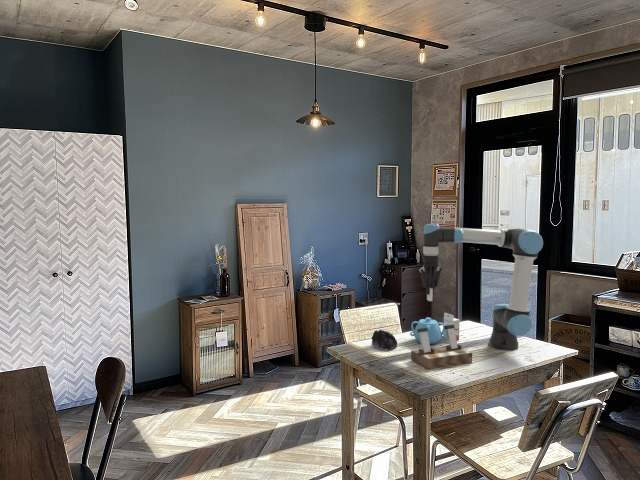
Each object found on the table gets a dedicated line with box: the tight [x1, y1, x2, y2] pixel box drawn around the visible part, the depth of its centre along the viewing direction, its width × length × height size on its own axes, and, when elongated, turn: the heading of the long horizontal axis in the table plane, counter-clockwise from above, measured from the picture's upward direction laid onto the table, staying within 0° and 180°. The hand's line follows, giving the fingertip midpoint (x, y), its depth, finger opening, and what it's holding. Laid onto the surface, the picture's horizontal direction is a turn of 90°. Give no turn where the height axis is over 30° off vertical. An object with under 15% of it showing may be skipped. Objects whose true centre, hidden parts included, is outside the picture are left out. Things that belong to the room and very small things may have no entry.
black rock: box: [371, 329, 398, 352], centre depth 261 cm, size 13×14×10 cm
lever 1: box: [417, 328, 432, 352], centre depth 238 cm, size 5×2×12 cm, turn 112°
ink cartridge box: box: [442, 312, 461, 341], centre depth 277 cm, size 9×5×15 cm, turn 25°
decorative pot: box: [409, 316, 446, 345], centre depth 272 cm, size 16×16×14 cm
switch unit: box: [410, 343, 473, 371], centre depth 238 cm, size 26×14×7 cm, turn 112°
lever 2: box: [444, 325, 458, 349], centre depth 244 cm, size 5×2×12 cm, turn 112°
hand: (429, 300), depth 246 cm, fingers closed
